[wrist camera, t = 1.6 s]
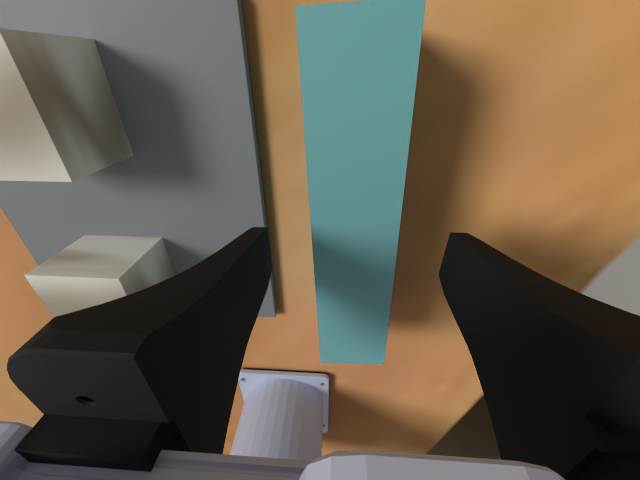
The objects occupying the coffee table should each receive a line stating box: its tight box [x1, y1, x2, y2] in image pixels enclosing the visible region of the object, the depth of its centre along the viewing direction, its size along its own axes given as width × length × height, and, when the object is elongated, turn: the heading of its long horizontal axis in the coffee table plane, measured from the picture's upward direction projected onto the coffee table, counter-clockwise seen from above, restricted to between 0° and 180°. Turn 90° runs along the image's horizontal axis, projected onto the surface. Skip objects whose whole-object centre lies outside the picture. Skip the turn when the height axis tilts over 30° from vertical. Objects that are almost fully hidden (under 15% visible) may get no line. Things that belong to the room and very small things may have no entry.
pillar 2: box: [24, 235, 175, 318], centre depth 17 cm, size 5×5×4 cm
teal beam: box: [295, 0, 426, 364], centre depth 14 cm, size 16×4×5 cm, turn 3°
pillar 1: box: [0, 28, 134, 182], centre depth 12 cm, size 5×5×4 cm
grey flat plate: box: [0, 0, 277, 317], centre depth 16 cm, size 18×16×1 cm
